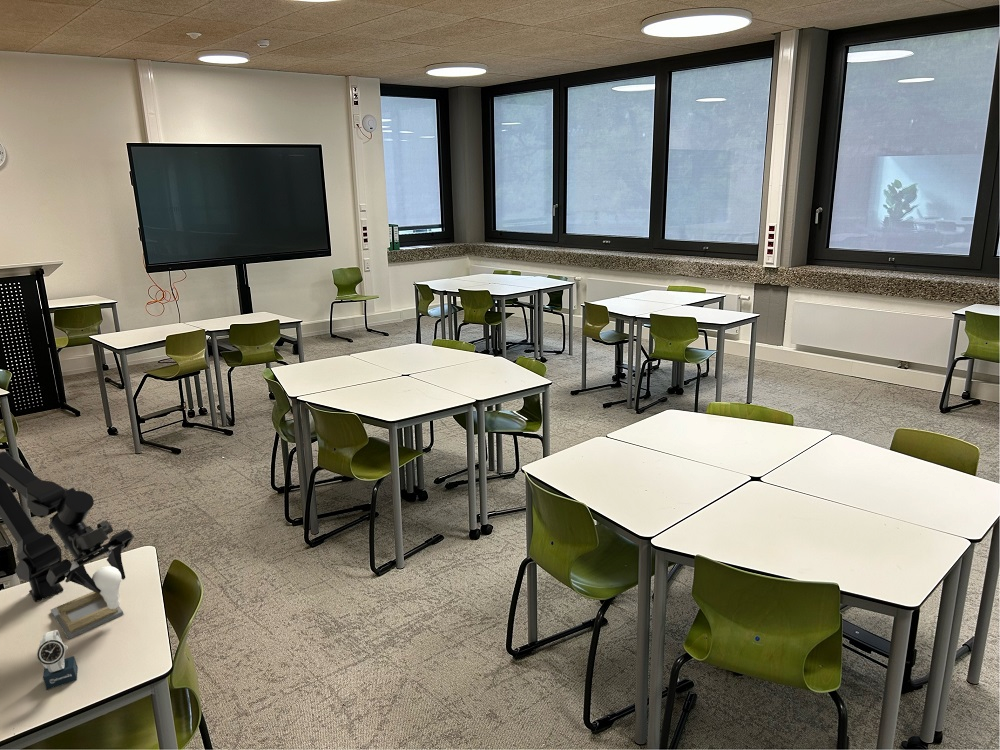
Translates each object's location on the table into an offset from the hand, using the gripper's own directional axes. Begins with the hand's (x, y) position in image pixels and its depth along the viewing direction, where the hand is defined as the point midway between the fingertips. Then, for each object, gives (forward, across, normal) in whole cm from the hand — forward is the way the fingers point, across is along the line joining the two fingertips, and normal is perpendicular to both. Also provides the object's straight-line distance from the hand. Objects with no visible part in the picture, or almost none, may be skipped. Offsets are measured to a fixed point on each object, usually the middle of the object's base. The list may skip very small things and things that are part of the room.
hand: (112, 585), depth 164 cm
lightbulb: (+4, 0, +6) cm, 7 cm away
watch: (+12, -18, +2) cm, 21 cm away
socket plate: (-1, -2, +15) cm, 15 cm away
